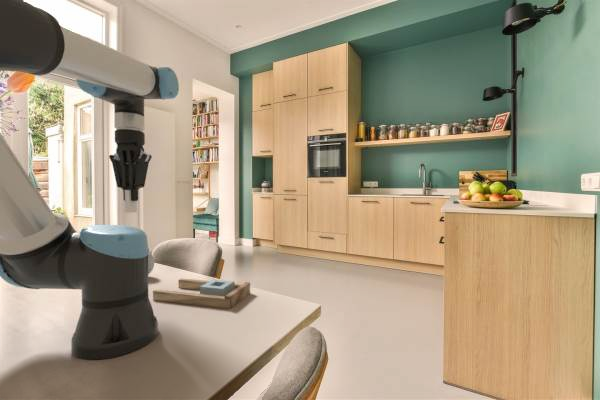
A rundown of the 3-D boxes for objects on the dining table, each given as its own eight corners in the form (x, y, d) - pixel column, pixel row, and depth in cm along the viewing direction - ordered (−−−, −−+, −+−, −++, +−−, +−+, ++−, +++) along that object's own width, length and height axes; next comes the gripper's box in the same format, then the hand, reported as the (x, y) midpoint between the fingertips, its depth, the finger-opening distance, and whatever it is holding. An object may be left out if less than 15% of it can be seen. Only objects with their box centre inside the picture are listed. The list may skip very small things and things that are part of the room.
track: (229, 308, 78) (229, 296, 78) (153, 299, 84) (152, 288, 84) (250, 293, 90) (250, 282, 90) (181, 286, 96) (181, 276, 96)
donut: (156, 276, 108) (156, 248, 107) (150, 278, 104) (150, 250, 104) (130, 275, 109) (130, 247, 108) (124, 277, 105) (123, 249, 105)
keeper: (222, 303, 82) (222, 288, 82) (200, 300, 84) (199, 286, 84) (234, 294, 89) (234, 281, 89) (213, 292, 90) (213, 279, 90)
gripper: (158, 132, 88) (159, 212, 89) (122, 134, 92) (123, 210, 92) (138, 126, 81) (139, 213, 82) (100, 129, 84) (101, 212, 85)
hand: (131, 212), depth 87 cm, fingers closed
